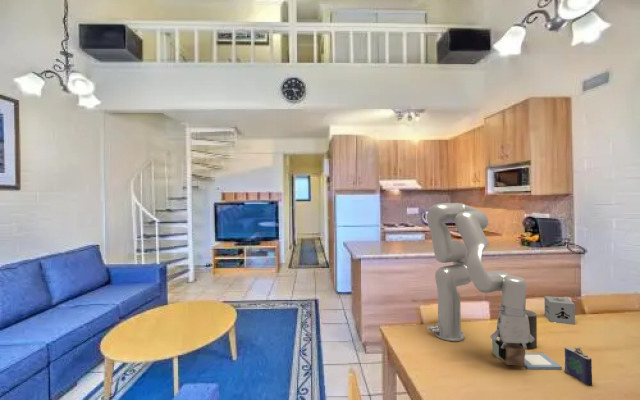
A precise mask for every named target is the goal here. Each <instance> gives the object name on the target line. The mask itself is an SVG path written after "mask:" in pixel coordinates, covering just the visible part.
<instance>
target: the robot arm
mask: <svg viewBox="0 0 640 400" xmlns="http://www.w3.org/2000/svg"><path fill="white" fill-rule="evenodd" d="M426 222H427V225H428V229H429V232H430V236H431V243H432V247H433V252H434V257H435V260H436V261H437V262H439V263H443V264H447V263H452V264H450V265H443V266H440V267H439V268H437V270H436V271H435V273H434V280H435V283H436V289H437V319H438V320H437V322H435V324H434V325H427V327H426V328H427V330H428V331H431V332H432V333H434V335H435V336H436V337H437V338H438V339H441V340H443V341H447V342H461V341H463V340H465V336H466V335H465V333H464V332H463V331H462V330H461V329H462V324H461V323H462V322H461V321H462V319H461V317H462V316H461V315H462V314H461V311H462V310H461V307H462V306H461V295H460V293H459V291H458V289H457V287H461V286H465V285H468V284H470V283H471V282H472V283H473V285H474V287H475V288H476V289H477V290H478V291H479V292H481V293H482V294H483V293H484V294H488V293H493V292H500V291H501V304H500V306H498V307H497V309H498V311H499V313H498V317H497V322H496V330H495V331H494V332H493V333H492V334H491V335H490V338H491V341H492V340H494V341H495V342H496V343H497V344H498V345H499V355H500V356H501V358H502V359H503V360H505V359H506V349H505V346H506V343H519V344H520V345H521V346H522V347H523V348H524V349H525V350H528V349H527V347H528V346H529V345H530V344H531V342H533V341H534V340H535V339H534V337H533V336H532V335H531V334H530V326H529V320H528V316H527V315H526V314H525V309H526V310H527V307H526V305H527V304H526V302H527V281H526V279H524V278H523V277H522V276H517V275H512V274H510V273H508V272H506V271H504V270H500V269H499V270H498V269H497V270H490V271H486V270H485V266H484V265H483V261H482V260H483V259H482V255H483V253H484V251H485V250H486V249H488V247H489V244H490V243H489V240H488V238H487V236H486V235H485V233H484V231H483V230H484V229H486V228H487V227H488V225H489V219H488V216H487V214H485V212H483V211H482V210H480V209H477V208H474V207H473V206H470V205H467V204H464V203H461V202H448V203H446V202H445V203H444V202H443V203H436V204H434V205H432V206H431V207H429V209H428V210H427V214H426ZM447 222H449V223H450V222H452V223H453V222H454V224H455V226H456V228H457V230H458V233H459V235H460V236H461V239H462V241H460V240H453V239H452V235H451V231H450V229H449V227H448V226H447V224H446V223H447ZM497 338H500V339H499V341H498V340H497ZM502 359H501V360H502ZM503 360H502V361H503Z"/></svg>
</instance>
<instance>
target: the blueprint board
mask: <svg viewBox="0 0 640 400" xmlns="http://www.w3.org/2000/svg"><path fill="white" fill-rule="evenodd" d="M522 366H523V367H524V368H525V369H527V370H545V371H546V370H547V371H548V370H552V371H553V370H555V371H556V370H558V371H559V370H563V369H562V368H563V367H562V365H560V364H558V362H555V360H553V359H552V358H551V357H549V356H548V355H547V354H545V353H544V352H540V353H539V352H525V360H524V365H522Z"/></svg>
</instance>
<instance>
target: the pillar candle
mask: <svg viewBox="0 0 640 400" xmlns="http://www.w3.org/2000/svg"><path fill="white" fill-rule="evenodd" d="M525 314H526V315H527V316H528V320H529V326H530V334H531V335H532V336H533V337H534V339H535V340H534V341H533V342H531V344H530V345H529V346H528V347H527V349H526V350H535V349H537V346H538V345H537V343H538V342H537V341H538V340H537V339H538V330H537V329H538V328H537V327H538V321H537V316H538V315H537V313H536V311H535V312H534V311H533V310H530V309H527V308H526V309H525Z"/></svg>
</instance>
